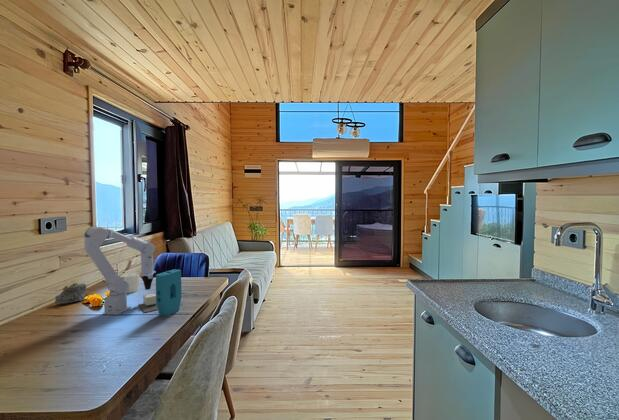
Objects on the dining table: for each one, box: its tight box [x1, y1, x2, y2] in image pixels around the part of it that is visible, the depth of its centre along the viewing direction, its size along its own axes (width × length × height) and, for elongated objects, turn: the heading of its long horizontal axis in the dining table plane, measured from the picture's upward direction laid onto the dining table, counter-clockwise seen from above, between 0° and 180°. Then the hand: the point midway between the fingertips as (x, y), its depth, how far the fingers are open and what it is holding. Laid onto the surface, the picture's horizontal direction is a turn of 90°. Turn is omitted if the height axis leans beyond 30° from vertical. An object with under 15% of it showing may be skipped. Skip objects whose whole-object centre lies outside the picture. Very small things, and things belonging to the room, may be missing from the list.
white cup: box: [124, 272, 141, 294], centre depth 178 cm, size 8×8×10 cm
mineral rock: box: [54, 282, 88, 305], centre depth 159 cm, size 13×11×10 cm
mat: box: [138, 303, 158, 314], centre depth 152 cm, size 14×10×1 cm
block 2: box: [155, 268, 182, 317], centre depth 144 cm, size 12×5×20 cm, turn 160°
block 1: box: [142, 293, 156, 305], centre depth 155 cm, size 4×5×8 cm
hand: (147, 289), depth 159 cm, fingers closed
